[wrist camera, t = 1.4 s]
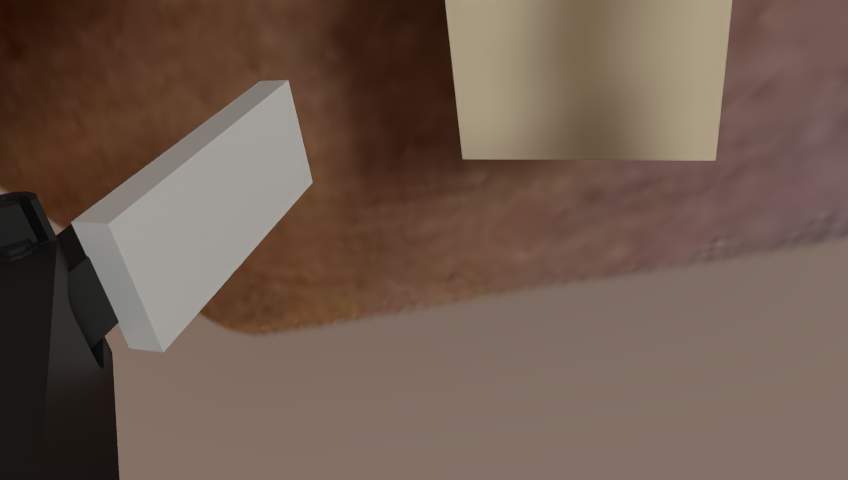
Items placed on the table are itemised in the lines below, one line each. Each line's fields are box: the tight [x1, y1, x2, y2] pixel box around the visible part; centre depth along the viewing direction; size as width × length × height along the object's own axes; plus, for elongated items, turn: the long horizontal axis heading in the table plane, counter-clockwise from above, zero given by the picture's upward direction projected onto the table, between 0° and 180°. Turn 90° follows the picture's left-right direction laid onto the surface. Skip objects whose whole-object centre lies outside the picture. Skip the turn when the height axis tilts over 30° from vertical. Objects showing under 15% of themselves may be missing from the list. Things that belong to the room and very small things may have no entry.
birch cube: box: [445, 0, 732, 161], centre depth 23 cm, size 8×8×8 cm
